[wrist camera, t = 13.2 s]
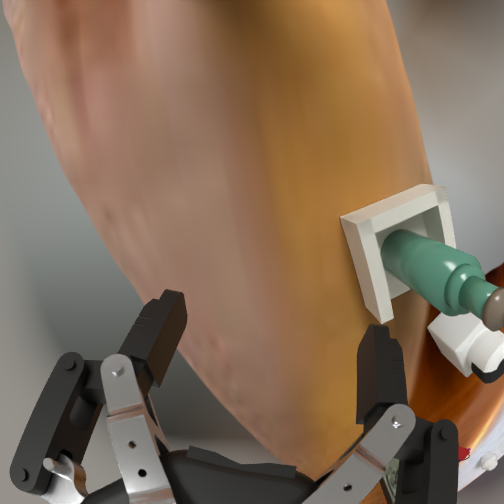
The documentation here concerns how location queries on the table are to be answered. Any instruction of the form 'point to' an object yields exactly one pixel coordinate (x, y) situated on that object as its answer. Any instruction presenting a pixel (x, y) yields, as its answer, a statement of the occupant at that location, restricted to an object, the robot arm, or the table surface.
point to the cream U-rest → (380, 226)
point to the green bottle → (443, 277)
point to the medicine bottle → (469, 345)
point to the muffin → (489, 460)
